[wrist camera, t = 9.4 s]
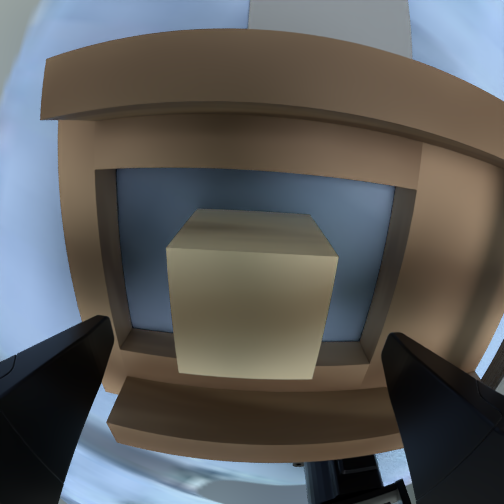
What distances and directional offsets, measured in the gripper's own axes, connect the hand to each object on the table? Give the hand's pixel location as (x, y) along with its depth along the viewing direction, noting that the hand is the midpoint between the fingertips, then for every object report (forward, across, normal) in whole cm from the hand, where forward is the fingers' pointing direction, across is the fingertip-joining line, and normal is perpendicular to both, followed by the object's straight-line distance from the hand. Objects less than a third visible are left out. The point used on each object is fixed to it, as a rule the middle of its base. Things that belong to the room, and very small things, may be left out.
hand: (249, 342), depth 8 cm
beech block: (+6, 0, 0) cm, 6 cm away
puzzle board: (+6, -4, 0) cm, 7 cm away
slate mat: (+6, -3, -13) cm, 15 cm away
